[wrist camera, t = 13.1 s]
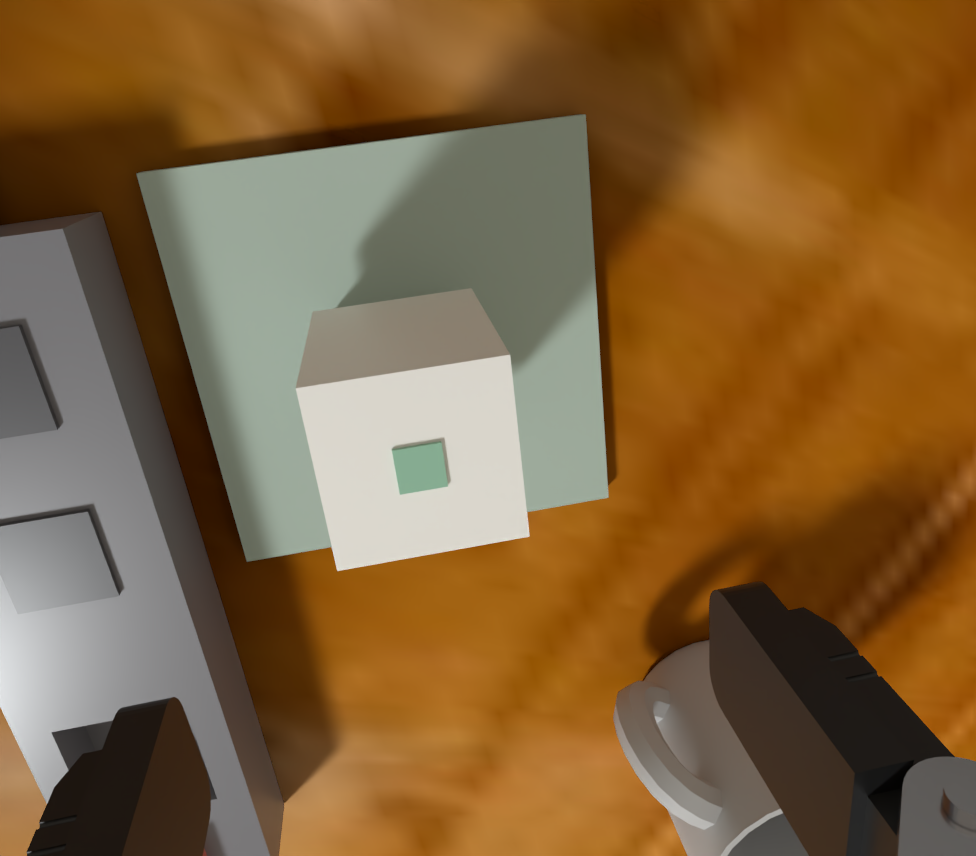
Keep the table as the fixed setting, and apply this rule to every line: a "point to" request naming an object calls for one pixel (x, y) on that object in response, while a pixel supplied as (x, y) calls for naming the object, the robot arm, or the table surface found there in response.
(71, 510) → the power strip
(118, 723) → the robot arm
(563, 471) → the rubber mat
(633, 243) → the table surface
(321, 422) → the block
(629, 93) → the table surface
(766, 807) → the cup
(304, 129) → the table surface
